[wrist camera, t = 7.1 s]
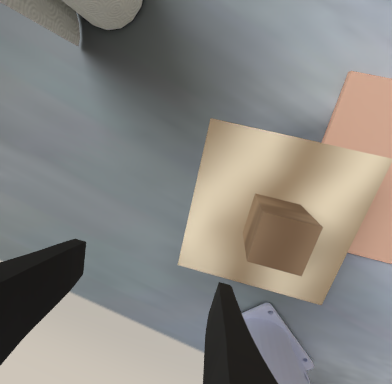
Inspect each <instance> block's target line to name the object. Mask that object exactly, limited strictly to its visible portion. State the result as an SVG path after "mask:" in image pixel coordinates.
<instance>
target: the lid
mask: <svg viewBox="0 0 392 384" xmlns="http://www.w3.org/2000/svg"><path fill="white" fill-rule="evenodd" d="M391 163H392V159H391V158H387V157H382V156H378V155H373V154H369V153H364V152H360V151H355V150H351V149H346V148H342V147H337V146H333V145H329V144H324V143H320V142H315V141H311V140H306V139H302V138H297V137H293V136H288V135H284V134H279V133H275V132H270V131H266V130H261V129H257V128H252V127H248V126H243V125H239V124H234V123H230V122H225V121H221V120H216V119H212V118H211V119H210V123H209V128H208V132H207V137H206V141H205V146H204V150H203V154H202V159H201V163H200V168H199V172H198V177H197V181H196V186H195V190H194V195H193V199H192V204H191V208H190V213H189V217H188V221H187V226H186V230H185V235H184V239H183V244H182V248H181V253H180V257H179V262H178V265H180V266H183V267H187V268H191V269H194V270H198V271H201V272H205V273H208V274H212V275H216V276H219V277H223V278H226V279H230V280H233V281H237V282H240V283H244V284H248V285H251V286H255V287H258V288H262V289H265V290H269V291H272V292H276V293H280V294H283V295H287V296H290V297H294V298H297V299H301V300H305V301H308V302H312V303H315V304H319V305H322V303H323V301H324V299H325V297H326V295H327V293H328V291H329V289H330V287H331V285H332V283H333V281H334V279H335V277H336V275H337V273H338V271H339V269H340V266H341V264H342V262H343V260H344V258H345V256H346V254H347V252H348V250H349V248H350V246H351V244H352V242H353V240H354V238H355V236H356V234H357V232H358V230H359V228H360V226H361V224H362V222H363V220H364V218H365V216H366V214H367V212H368V210H369V208H370V206H371V203H372V201H373V199H374V197H375V195H376V193H377V191H378V189H379V187H380V185H381V183H382V181H383V179H384V177H385V175H386V173H387V171H388V169H389V167H390V165H391Z"/></svg>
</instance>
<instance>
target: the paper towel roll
mask: <svg viewBox="0 0 392 384" xmlns="http://www.w3.org/2000/svg"><path fill="white" fill-rule="evenodd" d="M142 1H143V0H0V2H1V3H3V4H4V5H6V6H8V7H10V8H11V9H13V10H15V11H17V12H18V13H20V14H22V15H24V16H26V17H27V18H29V19H31V20H33V21H34V22H36V23H38V24H40V25H41V26H43V27H45V28H47V29H48V30H50V31H52V32H54V33H55V34H57V35H59V36H61V37H62V38H64V39H66V40H68V41H69V42H71V43H73V44H75V45H76V46H79V40H80V32H79V22H78V18H77V14H76V12H77V13H78V14H80V15H81V16H82V17H83V18H85V19H86V20H87V21H88V22H90V23H91V24H92V25H94V26H97V27H100V28H102V29H105V30H113V29H120V28H122V27H124V26H125V25H127V24H128V23H129V22H131V21H132V20H133V19H134V17H135V16H136V14H137V13H138V11H139V9H140V8H141V6H142Z"/></svg>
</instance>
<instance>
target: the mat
mask: <svg viewBox="0 0 392 384" xmlns="http://www.w3.org/2000/svg"><path fill="white" fill-rule="evenodd" d="M321 143H324V144H329V145H333V146H337V147H342V148H346V149H351V150H355V151H360V152H364V153H369V154H373V155H378V156H382V157H387V158H391V159H392V79H390V78H385V77H380V76H375V75H370V74H364V73H359V72H354V71H350V72H348V74H347V77H346V80H345V82H344V85H343V88H342V90H341V93H340V95H339V98H338V101H337V103H336V106H335V108H334V111H333V114H332V116H331V119H330V121H329V124H328V127H327V129H326V132H325V135H324V137H323V140H322V142H321ZM347 253H351V254H355V255H359V256H363V257H367V258H371V259H374V260H378V261H382V262H386V263H390V264H392V163H391V165H390V167H389V169H388V171H387V173H386V175H385V177H384V179H383V181H382V183H381V185H380V187H379V189H378V191H377V193H376V195H375V197H374V199H373V201H372V203H371V206H370V208H369V210H368V212H367V214H366V216H365V218H364V220H363V222H362V224H361V226H360V228H359V230H358V232H357V234H356V236H355V238H354V240H353V242H352V244H351V246H350V248H349V250H348V252H347Z"/></svg>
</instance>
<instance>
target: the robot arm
mask: <svg viewBox="0 0 392 384" xmlns="http://www.w3.org/2000/svg"><path fill="white" fill-rule="evenodd" d="M85 248H86V242H84V241H81V240H78V239H73V240H69V241H66V242H63V243H60V244H57V245H54V246H51V247H48V248H45V249H42V250H39V251H36V252H33V253H30V254H27V255H24V256H20V257H17V258H14V259H10V260H7V261H4V262H0V365H1V364H2V363H3V362H4V360H5V359H6V358H7V357H8V356H9V354H10V353H11V352H12V351H13V350H14V349H15V347H16V346H17V345H18V344H19V343H20V341H21V340H22V339H23V338H24V337H25V336H26V335H27V334H28V333H29V332H30V331H31V330H32V329H33V327H35V326H36V324H38V323H39V322H40V321H41V320H42V319H43V318H44V317H45V316H46V315H47V314H48V313H49V312H50V310H52V309H53V308H54V307H55V306H56V305H57V304H58V303H59V302H60V300H61V299H62V298H63V297H64V296H65V295H66V294H67V293H68V292H69V291H70V290H71V289H72V288H73V286H74V285H75V284H76V283H77V281H78V280H79V279H80V277H81V276H82V275H83V270H84V259H85ZM269 311H271V312H269ZM313 368H314V364H313V361H312V360H311V359H310V357H309V356H308V354H307V353H306V352H305V350H304V349H303V348H302V346H301V345H300V343H299V342H298V341H297V339H296V338H295V336H294V335H293V334H292V332H291V331H290V329H289V328H288V327H287V325H286V324H285V323H284V321H283V320H282V318H281V317H280V316H279V314H278V313H277V311H276V310H275V309H274V307H273V306H272V305H271V304H270V303H264V304H261V305H259V306H257V307H255V308H252V309H250V310H248V311H245V312H243V313H241V311H240V308H239V306H238V303H237V301H236V298H235V295H234V292H233V289H232V287H231V286H230V285H227V284H224V283H220V282H219V284H218V287H217V290H216V293H215V296H214V299H213V302H212V305H211V308H210V311H209V315H208V321H207V328H206V335H205V354H204V375H203V384H311V383H310V380H309V377H308V374H307V371H308V370H311V369H313Z"/></svg>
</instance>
